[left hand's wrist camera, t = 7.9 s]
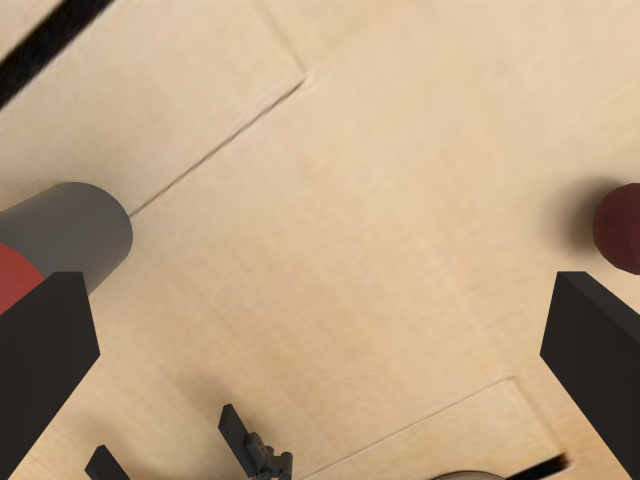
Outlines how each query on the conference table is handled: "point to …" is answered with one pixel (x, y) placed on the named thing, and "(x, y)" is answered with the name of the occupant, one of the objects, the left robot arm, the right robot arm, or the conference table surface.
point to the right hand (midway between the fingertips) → (157, 436)
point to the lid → (15, 277)
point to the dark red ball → (620, 228)
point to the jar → (69, 231)
